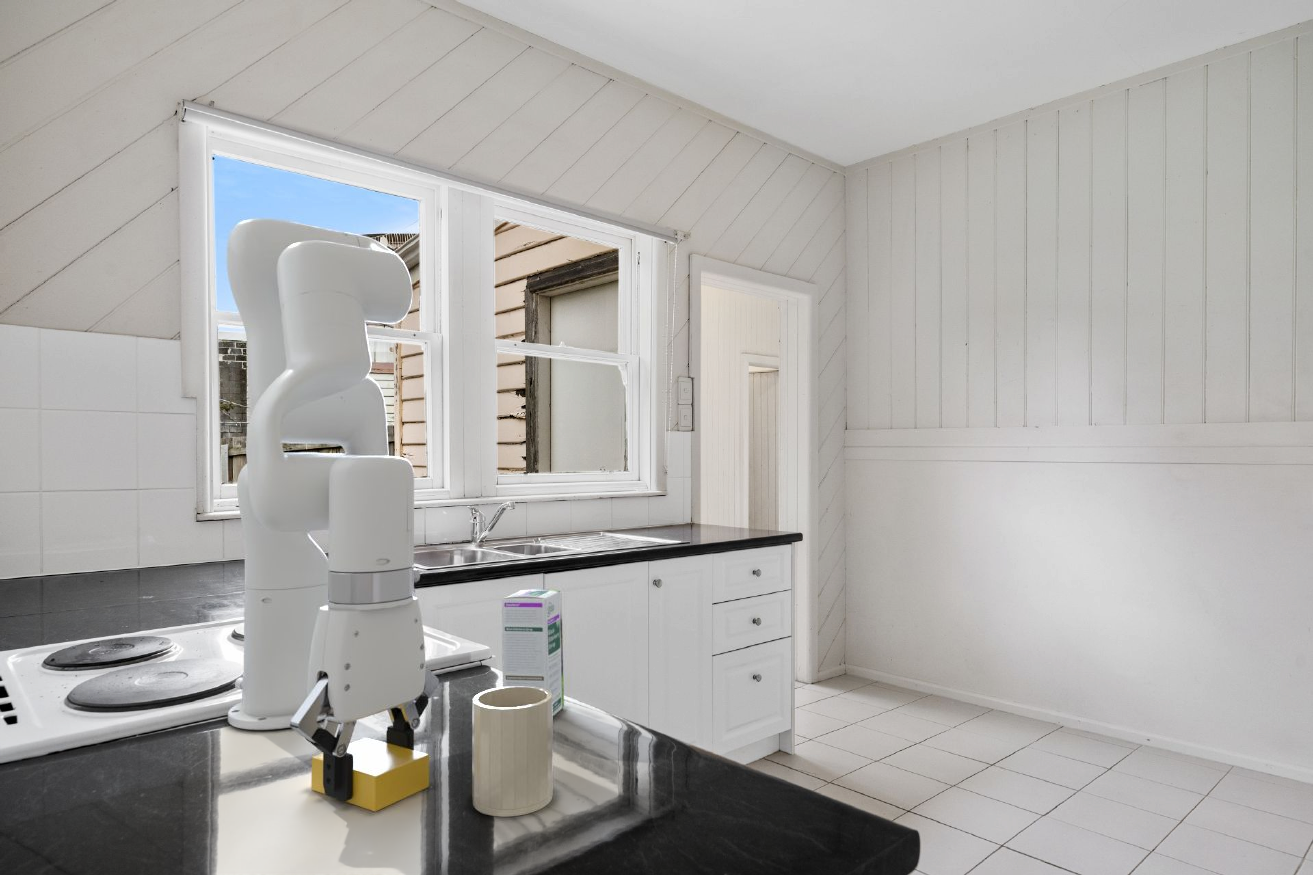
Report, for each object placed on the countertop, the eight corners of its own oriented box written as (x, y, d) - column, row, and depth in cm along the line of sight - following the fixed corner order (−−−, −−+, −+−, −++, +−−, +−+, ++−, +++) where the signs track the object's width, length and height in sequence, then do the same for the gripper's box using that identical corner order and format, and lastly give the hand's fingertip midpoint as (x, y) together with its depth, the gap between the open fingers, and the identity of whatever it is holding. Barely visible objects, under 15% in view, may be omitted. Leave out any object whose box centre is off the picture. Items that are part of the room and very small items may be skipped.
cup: (455, 804, 66) (455, 701, 67) (510, 777, 72) (510, 681, 73) (515, 824, 63) (515, 713, 63) (568, 792, 69) (568, 692, 69)
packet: (310, 789, 70) (311, 756, 70) (366, 767, 75) (366, 736, 75) (375, 812, 65) (375, 776, 65) (429, 786, 70) (429, 753, 70)
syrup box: (548, 723, 88) (548, 596, 88) (500, 720, 89) (500, 595, 89) (564, 707, 93) (564, 589, 94) (519, 705, 94) (519, 588, 95)
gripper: (417, 573, 80) (416, 746, 79) (259, 598, 65) (256, 810, 65) (468, 578, 76) (468, 760, 76) (312, 605, 62) (310, 831, 61)
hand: (370, 781), depth 70 cm, fingers closed on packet, 6 cm apart
